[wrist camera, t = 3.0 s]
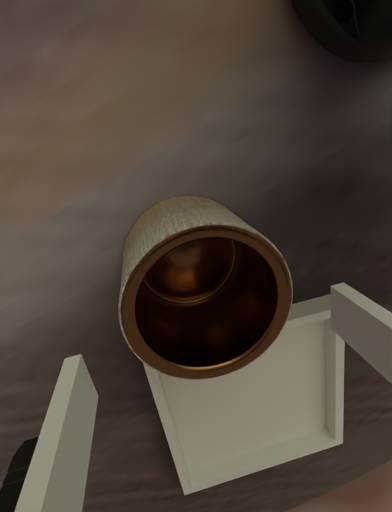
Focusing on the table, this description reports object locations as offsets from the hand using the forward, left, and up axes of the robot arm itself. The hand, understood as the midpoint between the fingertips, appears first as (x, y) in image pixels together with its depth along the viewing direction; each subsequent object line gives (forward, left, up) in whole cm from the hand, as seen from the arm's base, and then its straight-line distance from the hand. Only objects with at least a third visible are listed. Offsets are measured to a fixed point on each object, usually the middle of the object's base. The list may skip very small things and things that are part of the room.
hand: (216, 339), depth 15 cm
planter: (0, 0, -12) cm, 12 cm away
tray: (+18, +4, -12) cm, 22 cm away
